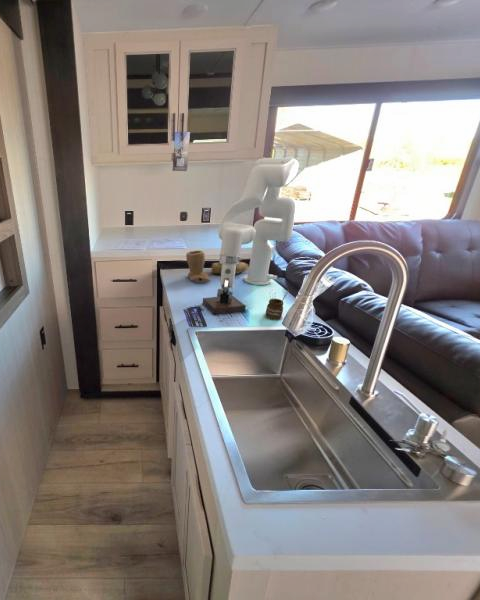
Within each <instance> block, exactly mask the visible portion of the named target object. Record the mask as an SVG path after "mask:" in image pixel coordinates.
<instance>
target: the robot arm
mask: <svg viewBox="0 0 480 600" xmlns="http://www.w3.org/2000/svg"><path fill="white" fill-rule="evenodd" d="M298 170H299V162H298V160H297V159H296V158H294V157H264V158H259V159H257V160H256V161H255V162H254V166H253V168H252V169H251V171H250V173H249V176H248V179H247V182H246V184H245V188H244V190H243V192H242V195H241V198H240V199H239V200H237V201H236V202H234V203H233V204H232V205H231V206H229V208H228V209H227V210H226V211H225V213H224V214H223V216H222V220H221V222H220V225H219V228H218V234H217V235H218V237H219V240H221V246H220V255H219V262H220V263H222V270H221V274H220V287H221V288H220V289H222V293H221V296H220V303H228V299H229V290H232V289H233V288H234V283H235V277H236V274H235V270H236V264H239V262H240V258H241V252H242V245H248V244H250V243H252V246H251V253H250V259H249V264H248V269H247V275H245V276H244V277H243V281H244V282H245V283H247V284H249V285H255V286H266V285H269V284H270V282H271V280H278V275H274V274H269V272H270V271H269V270H270V264H271V260H272V259H271V258H272V254H273V245H272V243H271V242H272V241H273V242H280V243H287V242H288V241H290V240H291V238H292V235H293V231H294V225H295V220H296V213H297V206H298V205H297V200H296V199H295V198H293V197H288V196H287V197H286V196H282V195H281V194H282V188H283V187H286V186H287V185H288V183H290V182H291V181H292V180H293V179H294V178H295V177H296V175H297V173H298ZM257 208H258V215H259V216H261V217H262V218H263V217H264V218H263V219H259V220H256V221H255V223H254V224H253V225H250V224H243V223H237V222H233V220H234V219H235V218H236V217H237V216H239V215H241V214H243V213H245V212H249V211H252V210H255V209H257ZM265 218H268V219H265ZM270 218H271V219H270ZM275 219H280V220H275ZM270 241H271V242H270ZM219 262H218V263H219Z"/></svg>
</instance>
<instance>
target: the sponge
mask: <svg viewBox="0 0 480 600" xmlns="http://www.w3.org/2000/svg"><path fill="white" fill-rule="evenodd" d="M221 270H222V263H220V262H214V263H211V273H212V274H215V275H221ZM248 270H249V264H248V263H247V262H243V261H239V264H236V270H235V275H236V274H240V273H243V272H245V271H248Z"/></svg>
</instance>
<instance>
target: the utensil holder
mask: <svg viewBox="0 0 480 600" xmlns="http://www.w3.org/2000/svg"><path fill="white" fill-rule="evenodd" d="M272 292H273V295H276V292H275V290H273V289H272V290H271V291H269V294H272ZM288 292H289V290H287V291H286V293H285V295H283V298H282V299H279V298H276V297H273V298H272V297H269V300H268V303H267V305H266V309H265V317H266V318H268V319H270V320H273V321H278V320H281V319H282V316H283V312H284V300H285V298H286V297H287V294H288Z"/></svg>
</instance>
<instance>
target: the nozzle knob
mask: <svg viewBox="0 0 480 600" xmlns="http://www.w3.org/2000/svg"><path fill="white" fill-rule="evenodd" d="M233 292H234V290H232V289H229V299H228V303H231V301H232V296H233V294H234V293H233ZM221 293H222V289H221V288H218V289H217V293H216V297H217V302H220V296H221Z"/></svg>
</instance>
